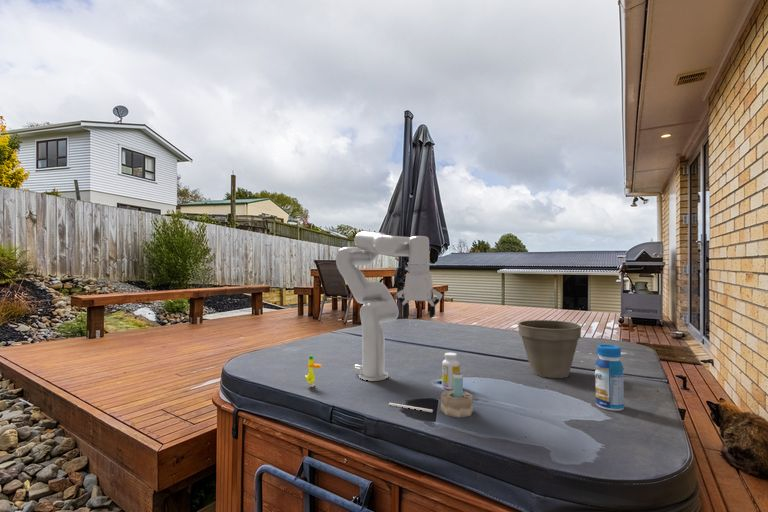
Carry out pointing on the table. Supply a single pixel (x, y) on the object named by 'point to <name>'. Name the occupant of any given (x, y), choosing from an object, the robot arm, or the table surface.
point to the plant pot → (550, 346)
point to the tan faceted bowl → (456, 404)
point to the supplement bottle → (449, 370)
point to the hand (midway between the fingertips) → (419, 316)
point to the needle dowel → (457, 385)
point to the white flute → (411, 407)
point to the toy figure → (311, 369)
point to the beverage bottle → (609, 378)
